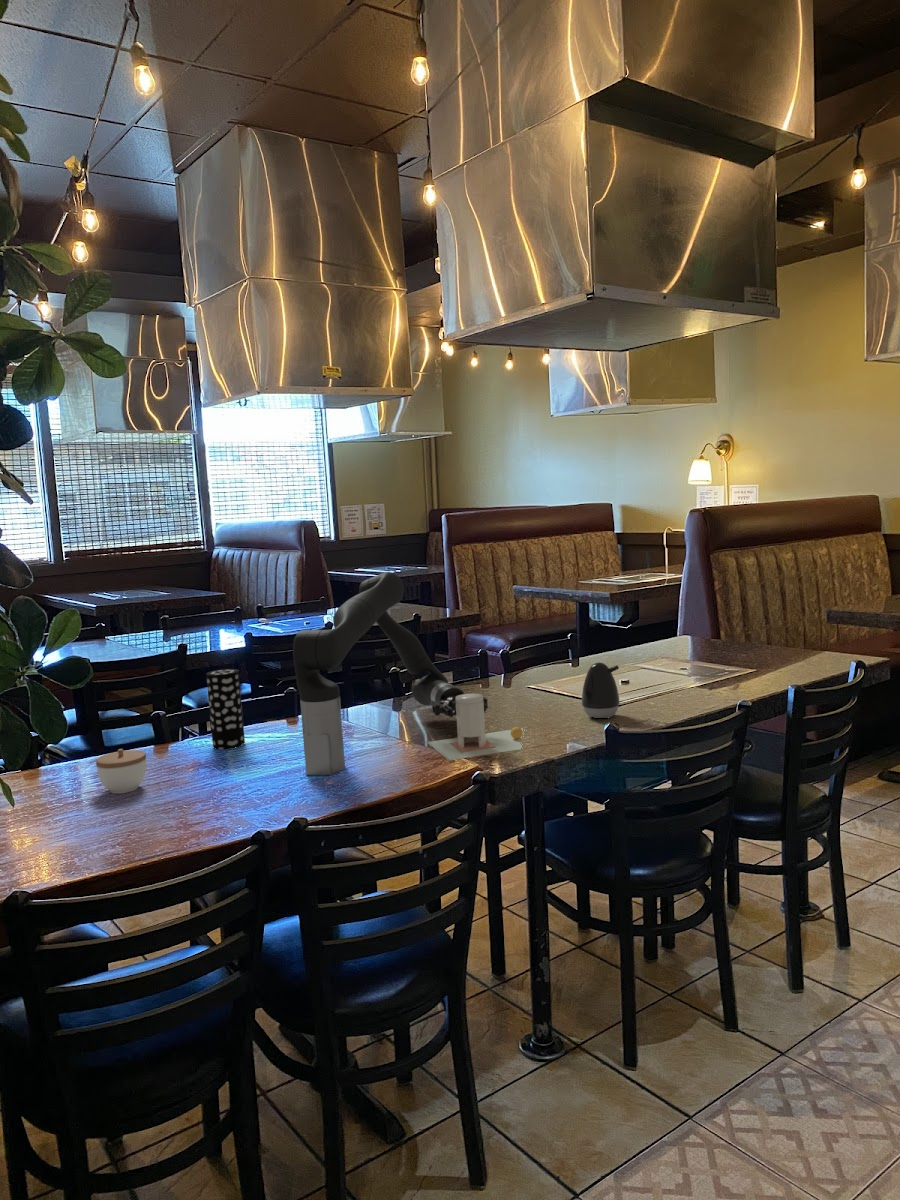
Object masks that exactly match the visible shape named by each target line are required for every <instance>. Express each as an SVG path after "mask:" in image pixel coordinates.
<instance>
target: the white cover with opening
mask: <svg viewBox="0 0 900 1200" xmlns="http://www.w3.org/2000/svg"><path fill="white" fill-rule="evenodd" d="M483 697H484V696H483V694H481V693H464V694H462V695H458V696H456V715H455V716H456V731H457V732H456V733H457V738H458V745H459V746H460V747H461V748H463V747H464V743H467V742H479V747H482V746H484V745H485V744H486V737H485V734H486V724H485V722H486V721H485V713H484V702H483Z"/></svg>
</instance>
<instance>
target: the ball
mask: <svg viewBox="0 0 900 1200" xmlns="http://www.w3.org/2000/svg"><path fill="white" fill-rule="evenodd" d="M520 728H521V727H518V726H515V727H512V728H511V729H510V730H511V736H512V737H513V738H514V739H519V738H521V736H522V734H523V733H522V730H521V729H520Z"/></svg>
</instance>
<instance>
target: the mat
mask: <svg viewBox="0 0 900 1200" xmlns="http://www.w3.org/2000/svg"><path fill="white" fill-rule="evenodd" d="M519 728H520V729H521V730H522V731H523V728H524V727H519ZM511 730H512V729H507V730H506V729H505V730H500V731H494V732H487V733H486V732H485V737H486V744H485V745H484V746H482V747H479V742H467V743H464V747H463V748H461V747H460V746H459V745H458V737H453V738H447V739H445V738H444V739H439V740H433V741H427V745H428V744H429V745H428V746H429V747H430V748H432V747H433V748H434V749H435V752H436V753H438V754H439V753H440V754H439V755H440V756H442V757H443V758H444V759H445V758H446V761H448V762H449V761H450V762H449V763H453V762H452V761H454V762H456V761H455V760H460V759H467V758H473V757H478V756H487V755H491V754H499V753H504V752H505V753H506V752H513V751H519V750H524V749H523V748H522V745H523V744H522V743H521V742H522V741H521V738H522V736H521V738H519V739H520V740H519V739H514V738H513V737H512V736H511ZM524 731H525V729H524ZM526 731H527V730H526ZM523 733H524V732H523ZM523 735H524V734H523ZM523 737H524V736H523ZM522 740H523V739H522ZM520 741H521V742H520ZM520 743H521V744H522V745H521V744H520ZM433 748H432V749H433ZM521 748H522V749H521ZM434 749H433V750H434Z"/></svg>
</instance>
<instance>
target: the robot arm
mask: <svg viewBox="0 0 900 1200" xmlns="http://www.w3.org/2000/svg"><path fill="white" fill-rule="evenodd" d="M358 587H359V588H358V589H359V590H358V592H359V593H358V594H356V595H354V596H352V597H351V598H349V599H347V600H346V601H345V602H343V604H341V605H340V606H339V607H338V608H337V609H336V611H335V613H334V615H333V621H332V622H333V627H334V628H331V629H304V630H300V631H298V632H297V633H296V635H295V637H294V639H293V643H292V656H293V665H294V671H295V679H296V686H297V687H296V688H297V690H298V693H299V700H300V701H299V702H300V713H301V715H300V716H301V725H302V727H301V728H302V738H303V750H304V751H303V752H304V762H305V774H306V775H308V776H309V775H313V776H315V775H316V776H319V775H321V776H322V775H323V776H327V775H328V776H331V775H333V774H336V773H339V772H342V771H343V770H345V768H346V760H345V749H344V748H345V746H344V737H343V735H344V733H343V723H342V720H343V719H342V706H341V693H340V686H339V685H338V683H336V682H335V681H332V680H330V679H327V678H326V677H324V676H323V675H322V674H321V673H320V672H319V670H332V669H335V668H337V667H339V665H341V663H342V662H343V660H344V659H345V658H346V657H347V655H348V653H349V652H350V650H351V649H352V647H354V645H355V644H357V642H358V641H359V640H360V639H361V638H362V636H364V635H365V634H366V633H368V631H369V630H370V629H372V627H373V626H374V625H375V623H376V624H377V626H379V628H380V629H381V630H382V631H383V633H384V634H385V636H386V637H387V638H388V640H389V641H390V642H391V644H392V645H393V647H394V649H395V650H396V652H397V654H398V656H399V658H400V660H401V661H402V663H403V666H404V667H405V668H406V671H407V672H408V673H409V674H410V675H416V674H420V673H424V672H427V673H428V674H427V675H425V676H423V677H422V678H420V679H418V680H416V681H415V682H414V683H413V684H412V687H411V695H412V696H413V698H414V700H416V702H418V703H419V704H421V705H423V706H429V707H430V712H431V713H432V714H433V715H435V716H436V717H437V716H440V714H442V715H443V716H447V717H449V718H453V717H454V716H456V696H458V695H462V694H465V692H464V691H463V690H462V689H460V688H458V687H457V686H455V685H453V684H451V683H449V680H448V679H447V678H446V676H445V675H444V674H443V673H442V672H441V671H440V670H439V669H438V667H436V665H435V664H434V663H433V662H432V661H431V659H430V657H429V655H428V654H427V652H426V651H425V648H424V646H423V644H422V642H421V641H420V640H419V638H418V637H417V636H416V634H414V633H413V632H411V631H410V630H409V629H408V628H406V627H405V626H404V625H403V626H402V625H401V624H400V623H399V622H397V620H395V619H394V618H393V617H392V616H391V615H390V613H389V612H388V610H389V609H391V608H393V606H395V605H397V604H398V603H400V602H401V601H402V599H403V596H404V591H405V590H404V588H405V587H404V583H403V581H402V579H401V578H400V576H399V575H397V574H396V573H394V572H390V571H388V572H383V573H380V574H377V575H374V576H372V577H369V578H367V579H365V580H363V581H362V582H360V584H359V586H358ZM483 702H484V714H485V713H486V711H487V709H489V707H488V705H489V704H488V698H487V697H484V696H483Z"/></svg>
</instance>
